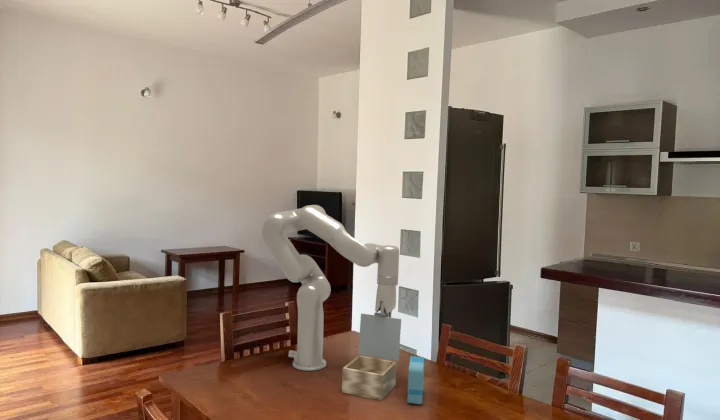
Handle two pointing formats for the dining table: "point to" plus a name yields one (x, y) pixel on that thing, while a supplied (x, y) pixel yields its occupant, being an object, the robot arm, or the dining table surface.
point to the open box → (369, 377)
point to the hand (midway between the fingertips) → (385, 330)
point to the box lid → (379, 336)
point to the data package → (415, 380)
